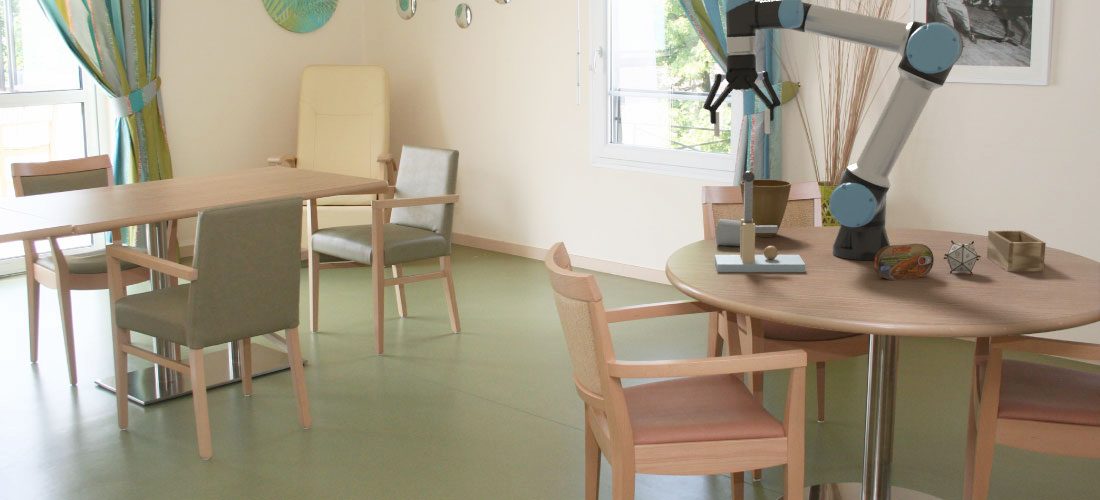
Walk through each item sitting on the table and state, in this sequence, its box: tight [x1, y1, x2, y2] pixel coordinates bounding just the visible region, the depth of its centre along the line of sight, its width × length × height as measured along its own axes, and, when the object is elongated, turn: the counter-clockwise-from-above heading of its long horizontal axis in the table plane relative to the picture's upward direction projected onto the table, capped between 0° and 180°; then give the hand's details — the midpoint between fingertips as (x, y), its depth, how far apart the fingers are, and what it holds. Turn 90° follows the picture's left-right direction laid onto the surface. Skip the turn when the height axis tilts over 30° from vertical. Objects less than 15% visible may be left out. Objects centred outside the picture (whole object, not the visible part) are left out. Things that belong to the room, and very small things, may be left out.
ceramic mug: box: [715, 218, 741, 247], centre depth 297 cm, size 11×8×8 cm
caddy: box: [986, 230, 1047, 272], centre depth 264 cm, size 9×17×7 cm, turn 174°
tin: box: [873, 243, 935, 281], centre depth 252 cm, size 15×3×8 cm, turn 102°
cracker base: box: [714, 218, 806, 273], centre depth 267 cm, size 22×12×12 cm, turn 84°
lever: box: [741, 170, 779, 234], centre depth 264 cm, size 9×4×17 cm, turn 84°
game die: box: [943, 239, 982, 275], centre depth 256 cm, size 9×8×10 cm
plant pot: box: [739, 178, 792, 238], centre depth 309 cm, size 15×15×16 cm
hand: (742, 135), depth 274 cm, fingers open, 13 cm apart
